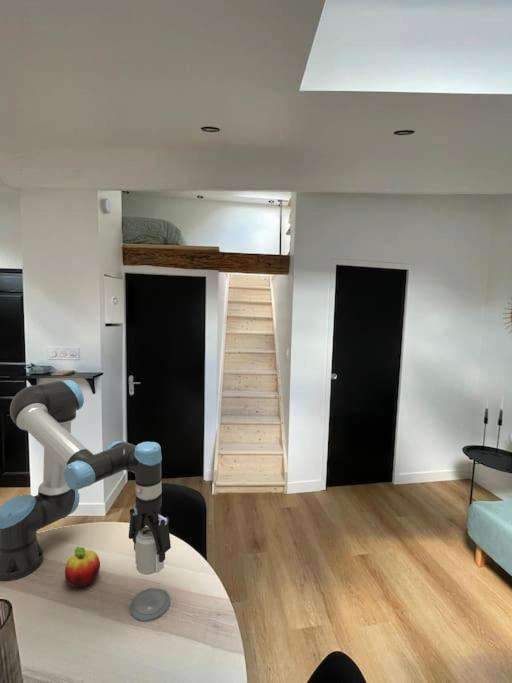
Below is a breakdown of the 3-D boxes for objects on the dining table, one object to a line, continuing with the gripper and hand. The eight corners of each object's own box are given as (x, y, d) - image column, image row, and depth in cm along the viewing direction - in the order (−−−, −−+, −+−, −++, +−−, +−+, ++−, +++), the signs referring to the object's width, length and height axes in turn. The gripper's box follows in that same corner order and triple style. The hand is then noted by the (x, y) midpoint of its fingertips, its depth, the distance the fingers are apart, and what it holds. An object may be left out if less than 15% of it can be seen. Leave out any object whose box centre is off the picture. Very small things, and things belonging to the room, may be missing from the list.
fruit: (69, 598, 119) (68, 568, 118) (61, 578, 127) (60, 550, 126) (104, 582, 126) (104, 554, 125) (94, 565, 134) (94, 538, 133)
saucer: (121, 611, 114) (121, 608, 114) (149, 585, 125) (149, 582, 125) (151, 627, 109) (151, 624, 109) (177, 599, 119) (177, 596, 119)
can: (152, 556, 121) (151, 521, 119) (166, 567, 116) (166, 530, 115) (131, 568, 115) (130, 531, 114) (146, 580, 110) (145, 542, 109)
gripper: (114, 491, 115) (116, 562, 117) (166, 509, 105) (167, 585, 107) (133, 481, 121) (134, 548, 123) (183, 497, 112) (183, 569, 114)
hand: (149, 565), depth 115 cm, fingers closed on can, 7 cm apart
